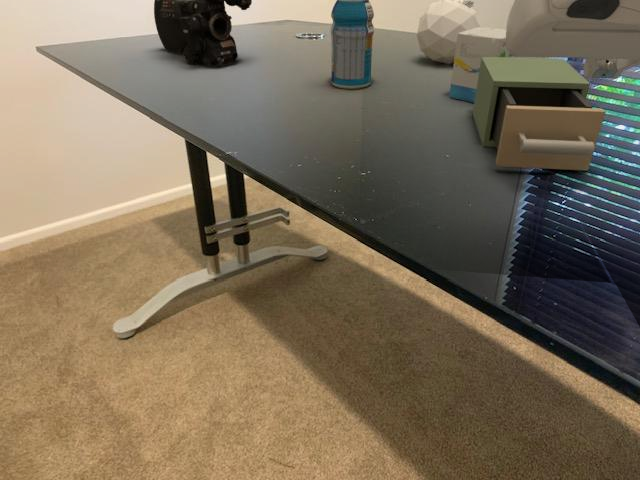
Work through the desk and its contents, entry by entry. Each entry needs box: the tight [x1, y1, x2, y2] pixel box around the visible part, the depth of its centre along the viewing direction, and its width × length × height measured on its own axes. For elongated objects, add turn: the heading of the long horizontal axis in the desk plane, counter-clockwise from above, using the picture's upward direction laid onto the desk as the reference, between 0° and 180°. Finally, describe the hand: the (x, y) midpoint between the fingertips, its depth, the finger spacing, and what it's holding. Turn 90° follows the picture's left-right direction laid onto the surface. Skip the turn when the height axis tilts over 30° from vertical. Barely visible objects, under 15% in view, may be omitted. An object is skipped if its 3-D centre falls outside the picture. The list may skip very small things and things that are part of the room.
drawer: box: [491, 87, 606, 172], centre depth 67 cm, size 18×11×8 cm, turn 171°
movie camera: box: [153, 0, 253, 67], centre depth 122 cm, size 31×18×18 cm, turn 43°
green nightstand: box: [472, 57, 591, 148], centre depth 77 cm, size 15×13×10 cm
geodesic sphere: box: [416, 0, 481, 65], centre depth 115 cm, size 15×14×14 cm
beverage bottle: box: [330, 0, 375, 90], centre depth 98 cm, size 8×8×20 cm
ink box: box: [448, 26, 518, 104], centre depth 92 cm, size 8×8×12 cm
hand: (599, 71), depth 49 cm, fingers closed
